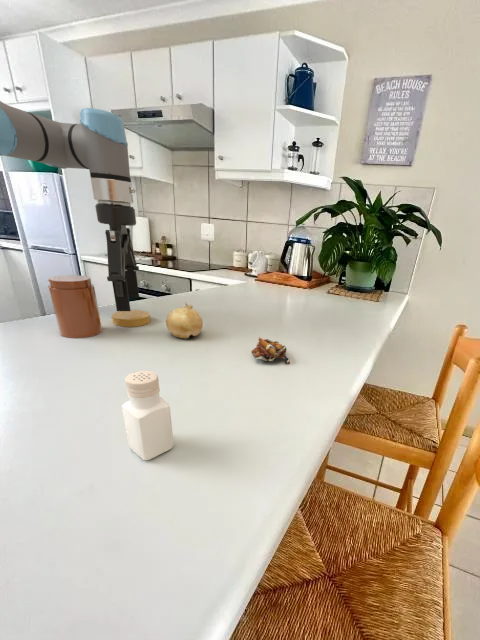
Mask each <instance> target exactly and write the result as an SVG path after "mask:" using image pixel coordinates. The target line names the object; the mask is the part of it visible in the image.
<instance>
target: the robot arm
mask: <svg viewBox="0 0 480 640" xmlns="http://www.w3.org/2000/svg"><path fill="white" fill-rule="evenodd" d="M79 115H80V120H79V123H69V122H59V121H56V120H53V119H50V118H47V117H44V116H42V115H38V114H34V113H31V112H29V111H26V110H23V109H20V108H18V107H14V106H11V105H8V104H7V103H4V102H3V101H1V100H0V156H1V157H3V156H4V157H10V158H14V159H21V160H25V161H32V162H36V163H41V164H44V165H46V166H49V167H54V168H58V169H62V170H63V169H79V170H80V169H82V170H88V171H89V177H90V184H91V191H92V195H93V199H94V201H97V203H96V204H95V205H94V206H95V207H94V208H95V212H96V219H97V222H98V223H99V224H103V225H108V226H109V229H105V231H104V232H105V233H104V234H105V238H106V252H107V254H106V255H107V267H108V268H107V271H108V275H107V276H106V281H107V282H111V283H112V284H111V285H112V289H113V296H114V302H115V308H116V312H119V311H131V310H132V309H131V304H130V298H140V291H139V284H138V277H137V271H140V266H139V265H138V263H137V260H136V255H135V250H134V246H133V241H132V235H131V229H130V227H133V226H136V225H137V217H136V210H135V208H134V206H132V204H134V196H133V195H134V194H135V193H136V189H135V187H133V186H132V179H131V174H130V173H131V172H130V160H129V148H128V146H129V144H128V143H129V142H128V140H127V136H126V130H125V123H124V121H123V119H122V118H121V117H120V116H119V115H118V114H116V113H114V112H110V111H108V110H104V109H99V108H95V107H94V108H92V107H85V108H82V109H81V110H80V112H79Z"/></svg>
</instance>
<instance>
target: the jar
mask: <svg viewBox="0 0 480 640" xmlns="http://www.w3.org/2000/svg"><path fill="white" fill-rule="evenodd" d="M47 282H49V285H48V292H49V295H50V299H51V303H52V308H53V311H54V315H55V319H56V323H57V328H58V331H59V334H60V336H61V337H64V338H68V339H83V338H90V337H94V336H97V335H100V334H102V332H103V327H102V320H101V315H100V311H99V306H98V300H97V295H96V289H95V285H94V284H92V280H91V277H90V276H86V275H78V274H77V275H76V274H75V275H74V274H67V275H66V274H64V275H63V274H62V275H54V276H50V277H48V280H47Z"/></svg>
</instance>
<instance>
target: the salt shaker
mask: <svg viewBox="0 0 480 640" xmlns="http://www.w3.org/2000/svg"><path fill="white" fill-rule="evenodd" d="M124 381H125V387H126V393H127V396H128V398H129V400H127V401H125V402H124V403H123V404H122V405H121V411H122V416H123V422H124V427H125V431H126V438H127V442H128V443H127V444H128V447H129V448H130V449H131V450H132V451H133V452H134V453H135V454H136V455H137V456H139V457H140V459H142V460H143V461H150V460H152V459H153V458H155V457H158V456H160V455H162V454H164V453H165V452H167V451H170V450H172V448H174V446H175V441H174V431H173V423H172V413H171V405H170V403H169V402H168V401H167V400H165V399H164V398H163V397H161V396H160V392H161V391H160V382H159V376H158V374H157V373H156V372H155V371H152V370H151V371H150V370H140V371H136V372H135V371H134V372H132V373H129V374H128V375H127V376H126V377H125V378H124Z"/></svg>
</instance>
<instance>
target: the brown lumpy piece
mask: <svg viewBox="0 0 480 640" xmlns="http://www.w3.org/2000/svg"><path fill="white" fill-rule="evenodd" d="M286 352H287V347H286V346H285V345H282V343H280V342H279V341H277V340H271V339H269V338H264V339H263V338H261V337H260V336H259V337H258V341H257V344H256V347H255V348H253V349H252V350H251V354H252V356H254V358H255V359H261V360H262V361H268V362H273V361H274V360H275V359H277V358H278V359H279V358H281V359H284V362H283V363H284V364H288V365H289V364H290V363H291V360H290V359H289V358H288V357H287V355H286Z"/></svg>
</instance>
